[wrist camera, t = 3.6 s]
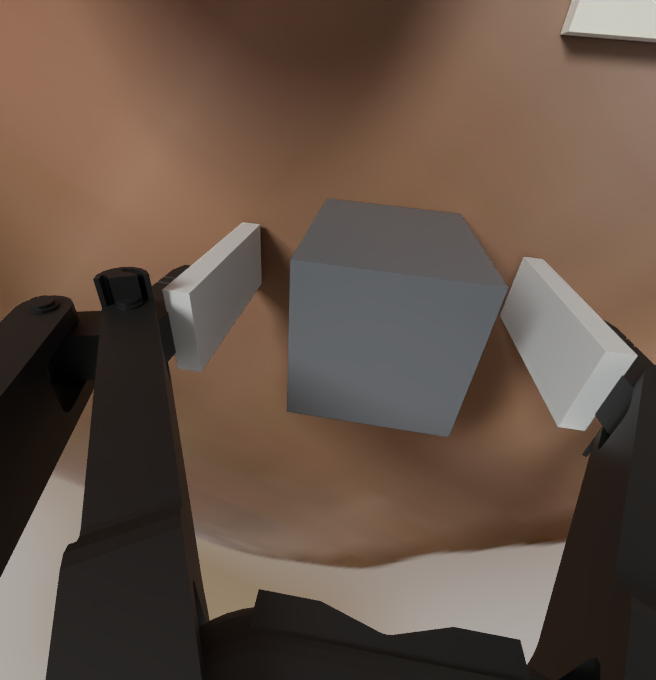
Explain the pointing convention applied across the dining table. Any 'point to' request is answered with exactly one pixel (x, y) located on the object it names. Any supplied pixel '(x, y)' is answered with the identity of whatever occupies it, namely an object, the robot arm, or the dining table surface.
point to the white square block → (612, 19)
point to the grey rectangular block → (388, 316)
